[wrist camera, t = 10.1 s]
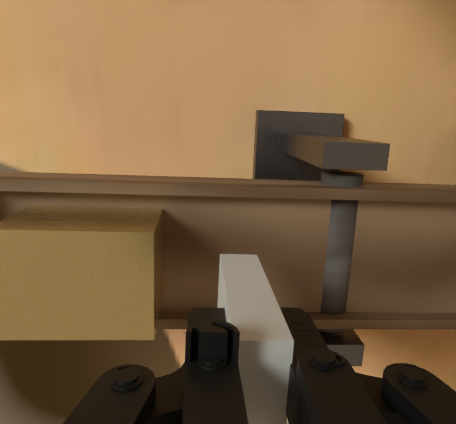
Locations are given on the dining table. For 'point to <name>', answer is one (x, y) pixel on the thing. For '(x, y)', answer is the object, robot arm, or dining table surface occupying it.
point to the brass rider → (81, 273)
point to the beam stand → (314, 171)
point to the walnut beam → (286, 240)
